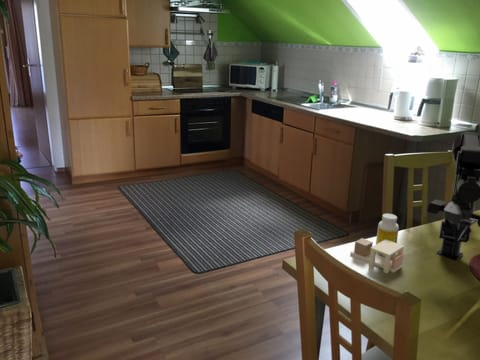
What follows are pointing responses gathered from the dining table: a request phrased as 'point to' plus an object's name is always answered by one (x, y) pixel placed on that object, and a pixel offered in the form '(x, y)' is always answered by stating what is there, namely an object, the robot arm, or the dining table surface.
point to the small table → (385, 252)
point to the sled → (363, 253)
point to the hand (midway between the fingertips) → (456, 240)
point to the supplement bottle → (387, 229)
